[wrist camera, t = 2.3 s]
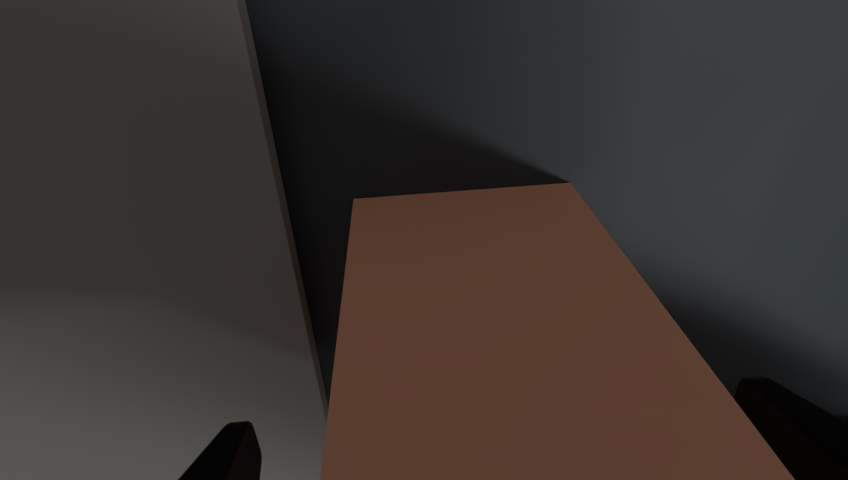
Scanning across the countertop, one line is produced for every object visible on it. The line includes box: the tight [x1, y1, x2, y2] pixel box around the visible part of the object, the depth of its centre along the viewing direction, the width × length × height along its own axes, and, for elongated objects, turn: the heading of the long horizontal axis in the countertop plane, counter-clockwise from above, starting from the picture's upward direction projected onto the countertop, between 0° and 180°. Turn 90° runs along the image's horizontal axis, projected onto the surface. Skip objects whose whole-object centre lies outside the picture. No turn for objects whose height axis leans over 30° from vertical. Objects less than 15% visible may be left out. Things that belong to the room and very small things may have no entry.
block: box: [320, 183, 795, 480], centre depth 9 cm, size 5×5×9 cm
